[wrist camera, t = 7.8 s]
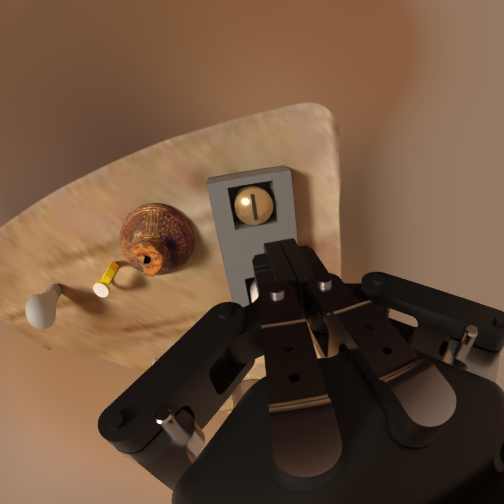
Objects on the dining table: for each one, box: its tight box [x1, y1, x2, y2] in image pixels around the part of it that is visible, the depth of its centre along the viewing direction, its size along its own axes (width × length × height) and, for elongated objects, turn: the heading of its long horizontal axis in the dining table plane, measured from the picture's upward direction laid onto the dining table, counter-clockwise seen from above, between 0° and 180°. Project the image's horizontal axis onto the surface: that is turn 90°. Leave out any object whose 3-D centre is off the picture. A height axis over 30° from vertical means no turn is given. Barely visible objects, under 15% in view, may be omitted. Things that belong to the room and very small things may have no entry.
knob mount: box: [207, 166, 298, 307], centre depth 41 cm, size 22×11×4 cm, turn 8°
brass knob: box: [234, 183, 273, 225], centre depth 37 cm, size 5×5×4 cm
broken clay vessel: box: [120, 203, 194, 276], centre depth 38 cm, size 12×12×7 cm
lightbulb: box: [26, 284, 62, 329], centre depth 37 cm, size 6×6×11 cm
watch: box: [93, 262, 119, 297], centre depth 40 cm, size 6×3×6 cm, turn 141°
